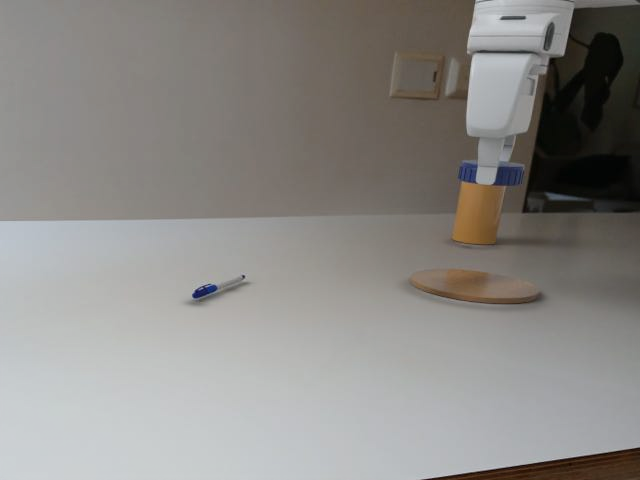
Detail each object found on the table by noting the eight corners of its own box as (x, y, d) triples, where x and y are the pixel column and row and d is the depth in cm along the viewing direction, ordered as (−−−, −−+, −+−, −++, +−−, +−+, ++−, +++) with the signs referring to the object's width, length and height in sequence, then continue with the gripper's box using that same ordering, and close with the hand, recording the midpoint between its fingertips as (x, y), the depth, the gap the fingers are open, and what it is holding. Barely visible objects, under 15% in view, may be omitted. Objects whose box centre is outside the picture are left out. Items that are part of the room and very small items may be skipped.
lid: (449, 180, 77) (452, 162, 76) (469, 176, 81) (472, 158, 81) (511, 187, 73) (515, 168, 72) (529, 182, 78) (533, 163, 77)
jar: (500, 241, 109) (515, 167, 105) (487, 246, 105) (502, 169, 101) (460, 235, 113) (472, 163, 109) (445, 240, 108) (457, 165, 105)
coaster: (552, 288, 82) (553, 283, 82) (517, 311, 72) (518, 305, 72) (436, 268, 90) (437, 263, 89) (391, 286, 80) (392, 281, 80)
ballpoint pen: (198, 300, 71) (199, 290, 71) (190, 299, 72) (191, 289, 72) (245, 280, 80) (246, 271, 80) (238, 279, 80) (239, 270, 80)
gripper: (497, 44, 82) (474, 171, 87) (466, 27, 66) (440, 186, 70) (560, 44, 79) (533, 176, 84) (544, 27, 63) (511, 193, 67)
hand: (490, 181), depth 77 cm, fingers closed on lid, 6 cm apart
